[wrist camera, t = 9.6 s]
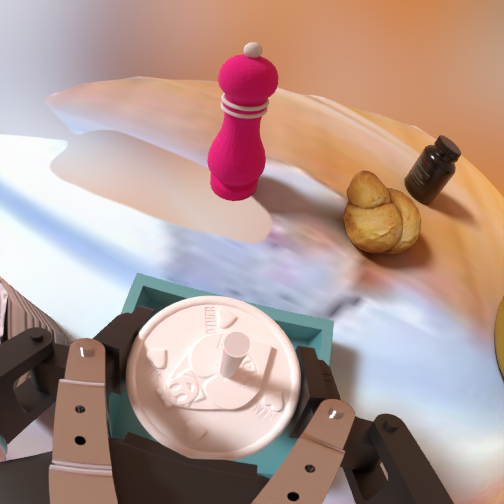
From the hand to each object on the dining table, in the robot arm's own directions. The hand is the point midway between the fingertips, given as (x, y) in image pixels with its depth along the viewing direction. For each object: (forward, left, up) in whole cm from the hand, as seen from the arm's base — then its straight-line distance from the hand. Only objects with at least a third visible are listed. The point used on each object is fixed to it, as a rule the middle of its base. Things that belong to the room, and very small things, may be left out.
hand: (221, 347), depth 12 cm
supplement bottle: (+28, +36, -15) cm, 48 cm away
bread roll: (+17, +22, -15) cm, 32 cm away
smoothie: (0, -2, -8) cm, 8 cm away
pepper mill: (-4, +24, -15) cm, 29 cm away
